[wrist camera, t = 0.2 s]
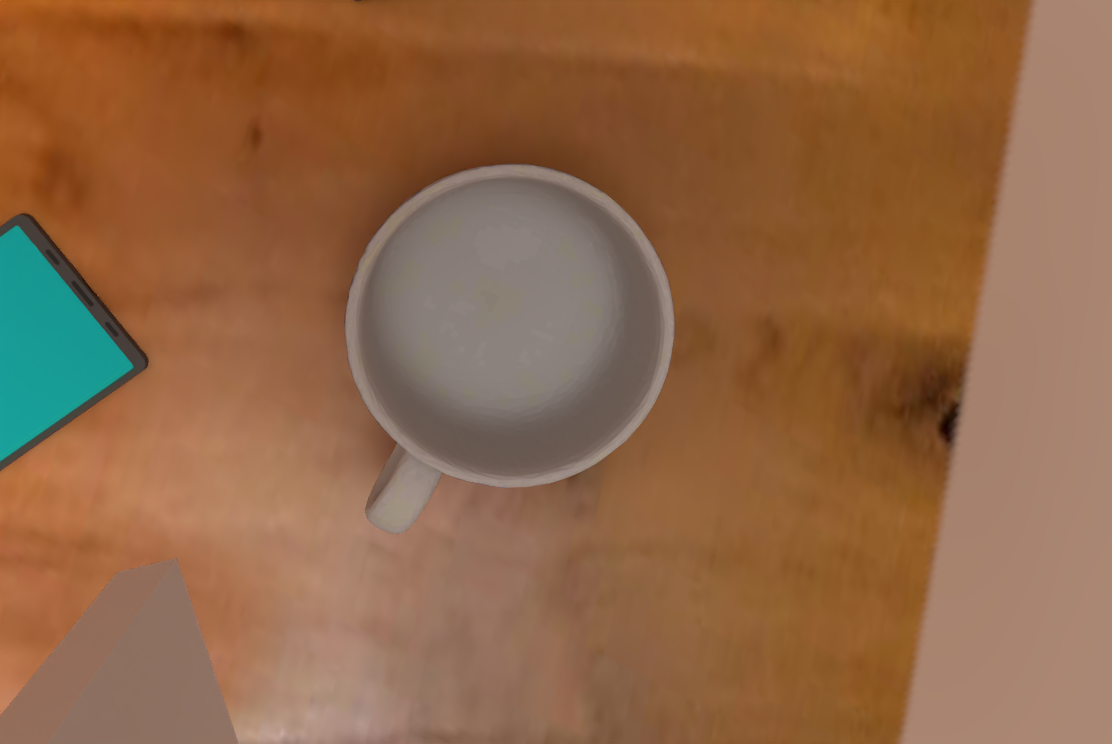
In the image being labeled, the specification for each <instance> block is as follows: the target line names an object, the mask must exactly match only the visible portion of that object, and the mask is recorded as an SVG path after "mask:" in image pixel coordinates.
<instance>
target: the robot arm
mask: <svg viewBox="0 0 1112 744" xmlns="http://www.w3.org/2000/svg"><path fill="white" fill-rule="evenodd" d="M0 744H238V740H237V737H236V734H235V731H234V728H233V725H232V722H231V719H230V716H229V713H228V710H227V707H226V705H225V702H224V699H223V696H222V693H221V690H220V687H219V684H218V681H217V678H216V675H215V672H214V669H213V666H212V663H211V660H210V657H209V654H208V651H207V648H206V645H205V642H204V639H203V636H202V633H201V630H200V627H199V624H198V621H197V618H196V615H195V612H194V609H193V606H192V603H191V600H190V597H189V594H188V591H187V588H186V585H185V582H184V579H183V576H182V573H181V570H180V567H179V564H178V561H177V558H175V559H171V560H167V561H162V562H158V563H154V564H150V565H145V566H141V567H137V568H133V569H128V570H124V571H120V572H117V573H116V574H115V576H114V577H113V578H112V579H111V580H110V582H109V583H108V584H107V585H106V587H105V588H104V589H103V590H102V592H101V593H100V594H99V595H98V596H97V598H96V599H95V600H94V601H93V603H92V604H91V605H90V606H89V607H88V609H87V610H86V611H85V612H84V614H83V615H82V616H81V617H80V619H79V620H78V621H77V622H76V623H75V625H74V626H73V627H72V628H71V630H70V631H69V632H68V633H67V635H66V636H65V637H64V638H63V639H62V641H61V642H60V643H59V644H58V646H57V647H56V648H55V649H54V650H53V652H52V653H51V654H50V655H49V657H48V658H47V659H46V660H45V662H44V663H43V664H42V665H41V666H40V668H39V669H38V670H37V671H36V673H35V674H34V675H33V676H32V677H31V679H30V680H29V681H28V682H27V684H26V685H25V686H24V687H23V689H22V690H21V691H20V692H19V693H18V695H17V696H16V697H15V698H14V700H13V701H12V702H11V703H10V705H9V706H8V707H7V708H6V709H5V711H4V712H3V713H2V714H1V716H0Z"/></svg>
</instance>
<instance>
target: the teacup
mask: <svg viewBox="0 0 1112 744" xmlns="http://www.w3.org/2000/svg"><path fill="white" fill-rule="evenodd" d="M344 323H345V337H346V345H347V353H348V361H349V365H350V368H351V372H352V375H353V378H354V381H355V384H356V386H357V388H358V390H359V392H360V395H361V397H362V400H363V402H364V403H365V405H366V407H367V408H368V410H369V411H370V413H371V414H372V415H373V417H374V418H375V419H376V421H377V422H378V423H379V425H380V426H381V427H382V428H383V429H384V430H385V431H386V433H387V434H388V435H389V436H391V437H392V438H393V439H394V440H395V441H396V442H397V444H396V446H395V448H394V450H393V452H392V453H391V455H390V457H389V459H388V461H387V462H386V464H385V466H384V468H383V470H382V471H381V473H380V475H379V477H378V479H377V481H376V483H375V485H374V487H373V489H372V491H371V494H370V496H369V498H368V501H367V504H366V507H365V513H366V516H367V519H368V520H369V521H370V522H371V523H372V524H373V525H374V526H376V527H377V528H379V529H381V530H384V531H386V532H389V533H392V534H400V533H403V532H405V531H407V530H408V529H409V527H410V526H411V525H412V524H413V523H414V522H415V521H416V519H417V518H418V516H419V515H420V513H421V512H422V510H423V509H424V507H425V506H426V504H427V502H428V501H429V499H430V497H431V495H432V493H433V491H434V490H435V488H436V486H437V484H438V482H439V480H440V478H441V475H442V473H444V474H447V475H449V476H452V477H454V478H457V479H460V480H464V481H468V482H472V483H477V484H482V485H487V486H493V487H502V488H509V487H530V486H536V485H542V484H548V483H552V482H555V481H559V480H562V479H565V478H567V477H570V476H573V475H575V474H577V473H579V472H582V471H584V470H586V469H588V468H589V467H591V466H593V465H595V464H596V463H598V462H599V461H601V460H602V459H603V458H604V457H606V456H607V455H608V454H610V453H611V452H613V451H614V450H615V449H616V448H618V447H619V446H620V445H621V444H623V443H624V442H625V441H626V440H627V439H628V438H629V437H630V436H631V435H632V433H633V432H634V431H635V430H636V429H637V428H638V427H639V426H640V424H641V423H642V422H643V420H644V419H645V418H646V416H647V415H648V413H649V412H650V410H651V408H652V407H653V405H654V403H655V401H656V400H657V397H658V395H659V393H660V391H661V388H662V386H663V383H664V380H665V378H666V375H667V372H668V369H669V365H670V361H671V354H672V348H673V342H674V310H673V300H672V295H671V290H670V286H669V281H668V278H667V276H666V273H665V271H664V268H663V266H662V263H661V261H660V259H659V257H658V255H657V253H656V251H655V249H654V247H653V245H652V243H651V242H650V241H649V240H648V238H647V237H646V236H645V234H644V232H643V231H642V230H641V228H640V227H639V225H638V224H637V223H636V222H635V221H634V220H633V219H632V217H631V216H630V215H629V214H628V213H627V212H626V211H625V210H624V209H623V208H622V207H621V206H620V205H619V204H618V203H616V202H615V201H614V200H613V199H611V198H610V197H609V196H608V195H606V194H605V193H604V192H603V191H601V190H599V189H597V188H596V187H594V186H592V185H590V184H589V183H587V182H585V181H583V180H581V179H579V178H577V177H575V176H572V175H570V174H567V173H564V172H562V171H559V170H555V169H551V168H547V167H542V166H537V165H528V164H500V165H489V166H483V167H477V168H472V169H468V170H463V171H460V172H457V173H454V174H451V175H449V176H446V177H444V178H441V179H439V180H437V181H435V182H433V183H432V184H430V185H428V186H426V187H425V188H423V189H422V190H420V191H419V192H417V193H416V194H414V195H413V196H412V197H410V198H409V199H408V200H407V201H405V202H404V203H403V204H402V205H400V206H399V207H398V208H397V209H396V210H395V211H394V212H393V213H392V214H391V215H390V216H389V217H388V218H387V220H386V221H385V222H384V223H383V224H382V225H381V226H380V228H379V229H378V230H377V232H376V233H375V234H374V236H373V237H372V239H371V240H370V242H369V243H368V245H367V246H366V248H365V251H364V253H363V255H362V257H361V259H360V261H359V263H358V266H357V268H356V271H355V273H354V276H353V278H352V283H351V287H350V291H349V296H348V300H347V306H346V312H345V321H344Z"/></svg>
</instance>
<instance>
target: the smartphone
mask: <svg viewBox="0 0 1112 744" xmlns="http://www.w3.org/2000/svg"><path fill="white" fill-rule="evenodd" d="M147 366H148V358H147V356H146V355H145V354H144V352H143V351H142V350H141V349H140V348H139V346H138V345H137V344H136V343H135V341H134V340H133V339H132V338H131V337H130V335H129V334H128V333H127V332H126V330H125V329H124V328H123V327H122V326H121V324H120V323H119V322H118V321H117V319H116V318H115V317H114V316H113V314H112V313H111V312H110V311H109V310H108V308H107V307H106V306H105V305H104V303H103V302H102V301H101V300H100V299H99V297H97V296H96V295H95V294H94V293H93V292H92V290H91V289H90V288H89V287H88V285H87V284H86V283H85V280H84V279H83V278H82V277H81V275H80V274H79V273H78V272H77V270H76V269H75V268H74V267H73V266H72V264H71V263H70V262H69V261H68V259H67V258H66V257H65V256H64V254H63V253H62V252H61V251H60V250H59V248H58V247H57V246H56V245H55V243H54V242H53V241H52V240H51V239H50V237H49V236H48V235H47V234H46V232H45V231H44V230H43V229H42V228H41V226H40V225H39V224H38V223H37V221H36V220H35V219H34V218H33V217H32V216H30V215H27V214H22V215H17V216H15V217H14V218H12V219H11V220H9V221H8V222H7V223H5V224H4V225H2V226H1V227H0V470H2V469H3V468H4V467H6V466H7V465H9V464H10V463H12V462H13V461H14V460H16V459H17V458H19V457H20V456H22V455H23V454H24V453H26V452H27V451H29V450H30V449H32V448H33V447H34V446H36V445H37V444H39V443H40V442H42V441H43V440H44V439H46V438H47V437H49V436H50V435H52V434H53V433H54V432H56V431H57V430H59V429H60V428H62V427H63V426H64V425H66V424H67V423H69V422H70V421H72V420H73V419H74V418H76V417H77V416H79V415H80V414H82V413H83V412H84V411H86V410H87V409H89V408H90V407H92V406H93V405H94V404H96V403H97V402H99V401H100V400H102V399H103V398H104V397H106V396H107V395H109V394H110V393H112V392H113V391H114V390H116V389H117V388H119V387H120V386H122V385H123V384H124V383H126V382H127V381H129V380H130V379H132V378H133V377H134V376H136V375H137V374H139V373H140V372H142V371H143V370H144V369H146V368H147Z"/></svg>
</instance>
